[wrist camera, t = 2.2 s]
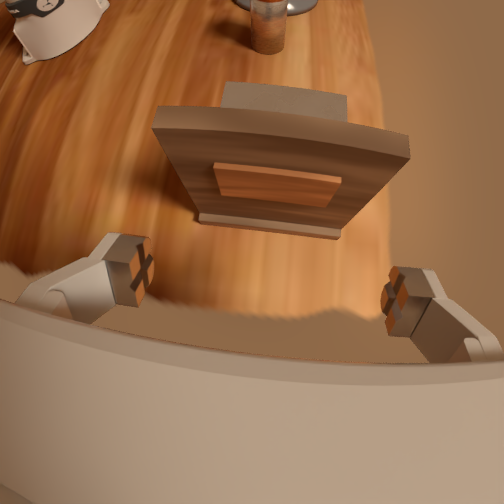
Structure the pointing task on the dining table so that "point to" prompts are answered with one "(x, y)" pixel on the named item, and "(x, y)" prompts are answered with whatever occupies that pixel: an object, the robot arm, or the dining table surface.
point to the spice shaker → (268, 25)
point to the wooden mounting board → (277, 167)
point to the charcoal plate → (297, 4)
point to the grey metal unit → (285, 100)
